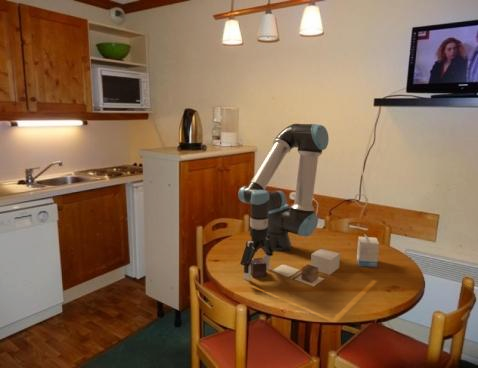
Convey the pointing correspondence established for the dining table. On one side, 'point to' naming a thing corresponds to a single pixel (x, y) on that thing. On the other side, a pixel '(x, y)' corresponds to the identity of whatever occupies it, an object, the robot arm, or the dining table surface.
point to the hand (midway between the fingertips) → (257, 274)
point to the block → (309, 273)
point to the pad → (285, 270)
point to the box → (258, 267)
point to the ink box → (367, 251)
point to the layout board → (307, 281)
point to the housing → (325, 261)
